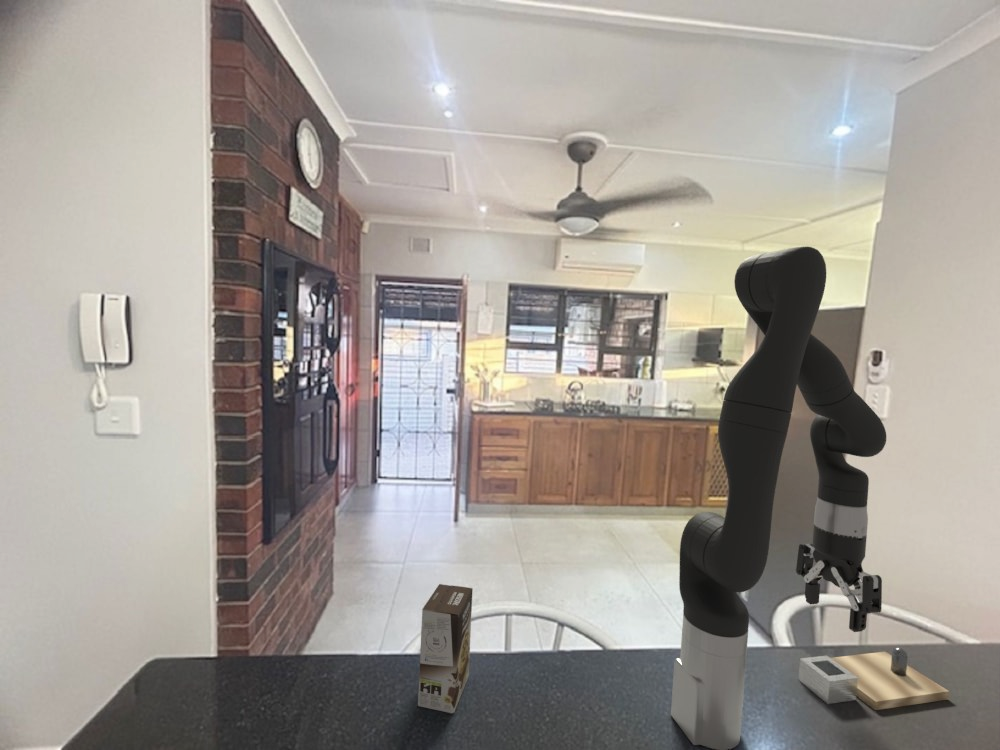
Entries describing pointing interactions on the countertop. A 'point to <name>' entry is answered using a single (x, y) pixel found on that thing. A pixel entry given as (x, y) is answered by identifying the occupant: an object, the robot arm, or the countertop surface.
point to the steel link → (828, 679)
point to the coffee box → (445, 647)
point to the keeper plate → (890, 680)
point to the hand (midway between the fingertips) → (833, 616)
